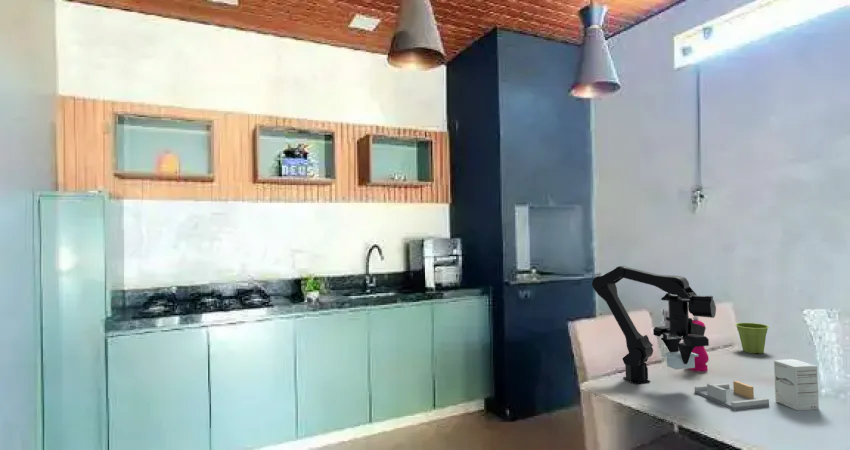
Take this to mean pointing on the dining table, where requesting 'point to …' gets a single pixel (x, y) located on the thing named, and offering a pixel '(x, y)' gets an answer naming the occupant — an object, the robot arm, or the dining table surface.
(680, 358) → the light blue knobbed block
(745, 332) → the plant pot
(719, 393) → the mounting plate
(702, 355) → the pepper mill
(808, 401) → the supplement box
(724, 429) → the dining table surface
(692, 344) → the robot arm
